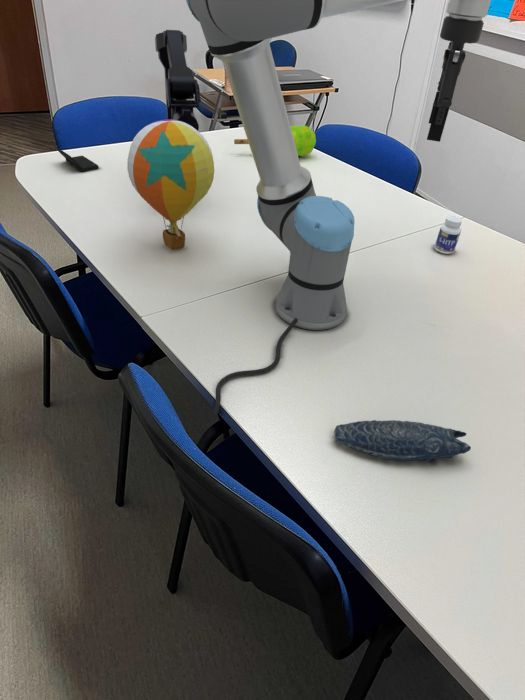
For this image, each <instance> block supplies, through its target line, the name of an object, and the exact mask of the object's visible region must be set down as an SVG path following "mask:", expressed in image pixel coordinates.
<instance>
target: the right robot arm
mask: <svg viewBox="0 0 525 700" xmlns="http://www.w3.org/2000/svg"><path fill="white" fill-rule="evenodd" d="M402 1H403V2H404V1H405V0H185V2H186V4H187V7H188V9H189V11H190V12H191V15H192V16H193V17H194V19H195V20H196V21H197V22H198V23H199V25H200V28H201V30H202V33H203V36H204V40H205V43H206V44H207V48H208V50H209V53H210V55H211V56H212V57H214V58H215V59H217V60H220V61H221V62H222V66H223V68H224V71H225V74H226V78H227V80H228V83H229V87H230V90H231V93H232V96H233V99H234V103H235V105H236V109H237V111H238V112H237V113H238V114H239V118H240V122H241V124H242V127H243V130H244V133H245V136H246V139H248V143H249V144H248V146H249V149H250V151H251V155H252V157H253V158H252V159H253V162H254V163H255V167H256V170H257V174H258V176H259V177H258V178H259V181H258V183H257V184H256V188H255V189H256V194H257V201H256V207H257V212H258V215H259V217H260V220H261V221H262V223H263V224H264V226H265V227H266V228H267V229H268V230H269V231H271V232H272V233H273V234H274V235H275V237H276V238H277V239H278V240H279V241H280V242H281V243H282V244H283V245H284V247H286V249H287V250H288V251H289V254H290V255H289V262H288V263H289V264H288V270H287V271H288V272H287V275H286V278H285V279H284V282H283V283H282V285H281V287H280V290H279V291H278V294H277V296H276V300H275V311H276V313H277V315H278V316H279V317H280V318H281V319H282V320H283V321H284V322H286V323H287V324H289V325H288V326H287V327H286V329H285V330H284V331H283V332H282V334H281V335H280V336H279V338H278V341H277V343H276V349H275V358H274V360H273V362H272V363H271V364H269V365H268V366H265V367H263V368H259V369H250V370H240V371H239V370H238V371H235V372H232V373H229V374H227V375H225V376H223V377H222V378H221V379H219V381H218V382H217V385H216V386H215V387H216V388H215V403H214V408H213V412H212V417H213V418H217V417H218V415H219V412H220V407H221V401H222V400H221V399H222V397H221V395H222V394H221V393H222V392H221V391H222V387H223V385H224V384H225V383H226V382H227V381H229V380H231V379H233V378H237V377H243V376H252V375H253V376H254V375H259V374H261V375H262V374H264V373H267V372H270V371H272V370H273V369H275V368H276V366H277V365H278V364H279V362H280V359H281V347H282V343H283V341H284V340H285V339H286V337H287V336H288V334H289V333H290V332H291V331H292V330H293V328H294V327H296V328H300V329H304V330H310V331H324V330H325V331H326V330H329V329H333V328H336V327H337V326H339V325H340V324H342V323H343V322H344V320H345V318H346V315H347V310H348V305H347V297H346V292H345V286H344V280H345V275H346V271H347V267H348V261H349V257H350V253H351V252H350V251H351V247H352V242H353V240H354V236H355V216H354V214H353V212H352V210H351V209H350V207H348V205H346V204H345V203H343V202H341V201H340V200H337V199H336V200H334V199H333V198H332V197H329V196H323V195H317V194H316V191H315V188H314V183H313V180H312V175H311V172H310V171H309V169H308V168H306V167H304V166H302V165H301V162H300V158H299V156H298V154H297V150H296V146H295V142H294V138H293V134H292V130H291V126H292V125H291V122H290V119H289V115H288V110H287V107H286V103H285V100H284V95H283V92H282V91H283V90H282V88H281V84H280V80H279V77H278V76H279V75H278V72H277V67H276V64H275V61H274V57H273V52H272V48H271V45H270V44H271V42H272V39H273V38H278V37H281V36H285V35H289V34H293V33H297V32H302V31H306V30H311V29H314V28H317V26H318V25H319V24H320V22H321V21H322V18H328V17H333V16H337V15H342V14H347V13H352V12H358V11H361V10H365V9H371V8H375V7H380V6H385V5H390V4H394V3H398V2H402ZM491 2H492V0H449V1H448V3H447V7H446V13H447V14H448V15H447V16H445V17H444V18H443V22H442V26H441V30H440V33H439V37H440V39H442V40H444V41H447V42H449V43H448V48H447V49H445V50H444V54H443V59H442V60H443V62H442V65H441V74H440V77H439V80H438V83H437V88H436V92H435V96H434V100H433V103H432V107H431V112H430V115H429V119H428V124H430V126H429V129H428V134H427V136H426V140H427V141H431V142H439V143H440V142H441V140H442V136H443V133H444V129H445V125H446V121H447V118H448V115H449V111H450V108H451V106H452V104H453V99H454V98H453V97H454V94H455V91H456V90H455V89H456V85H457V81H458V77H459V76H460V74H461V72H462V71H461V70H462V67H463V64H464V62H465V58H466V55H467V54H466V51H465V50H464V47H465V44H477V43H478V42H479V40H480V38H481V34H482V31H483V28H484V20H483V18H486V17H487V16H488V11H489V8H490V5H491Z"/></svg>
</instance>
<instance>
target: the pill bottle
mask: <svg viewBox="0 0 525 700" xmlns="http://www.w3.org/2000/svg"><path fill="white" fill-rule="evenodd" d="M462 222H463V219H461V218H460V217H458V216H455V215H448V216H446V218H445V220H444V223H443V224H442V225H440V228H439V231H438V234H437V237H436V240H435V243H434V250H435V251H437V252H439V253H441V254H447V255H449V254H453V253H454V252H455V250H456V247H457V244H458V242H459V239H460V236H461V233H462V229H461V225H462Z"/></svg>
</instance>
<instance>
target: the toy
mask: <svg viewBox="0 0 525 700" xmlns="http://www.w3.org/2000/svg"><path fill="white" fill-rule="evenodd" d="M127 156H128V157H127V161H126V162H127V163H126V164H127V168H126V169H127V173H128V178H129V181H130V183H131V185H132V187H133V189H134V190H135V192H137V194H138V195H139V196H140V197H141V198H142V199H143V200H144V201H145V202H146V203H147V204H148V205H149V206H150V207H151V208H152V209H153V210H154V211H156V212H157V213H158V214H159V215H161V216H162V218H163V223H164V227H165V229H163V231H162V241H163V244H164V245H165V247H167V248H168V249H170V250H171V251H177V250H180V249H182V248H184V247H185V245H186V233H185V232H184V231H183V230H182V228H183V223H184V219H185V216H186V215H187V214H188V213H189V212H191V211H192V209H194V208H195V207H196V206H197V205H198V204H199V203H200V202H201V200H202V199H204V198H205V196H206V195H208V192H209V191H210V189H211V187H212V185H213V182H214V179H215V178H214V177H215V162H214V155H213V152H212V148H211V146H210V144H209V142H208V140H207V139H206V138H205V137H204V135H203V134H202V133H201V132H200V131H199V130H198V131H197V130H196V129H195V128H193V127H192V126H190V125H188V124H187V123H185V122H182V121H177V120H171V119H167V118H166V119H160V120H155V121H153V122H151V123H149V124H147V125H145V126H144V127H143V128H142V129H140V130H139V131H138V132H137V134H136V135H135V136H134V138H132V142H131V144H130V146H129V151H128V155H127ZM166 220H167V221H169V224H166ZM181 220H182V221H181ZM178 221H181V226H180V228H179V226H178V224H177V223H178Z"/></svg>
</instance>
